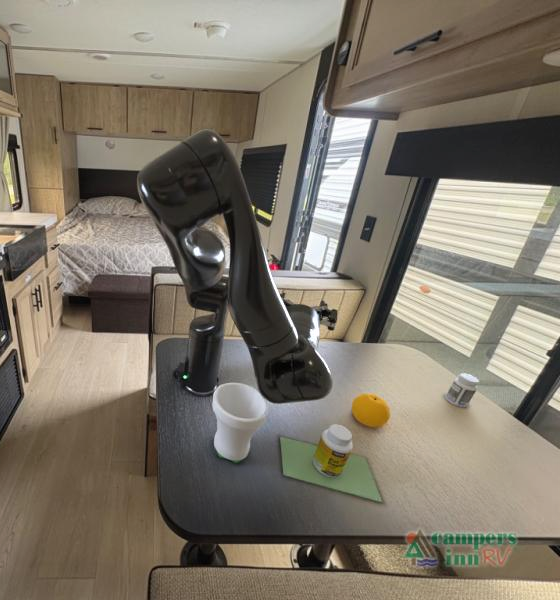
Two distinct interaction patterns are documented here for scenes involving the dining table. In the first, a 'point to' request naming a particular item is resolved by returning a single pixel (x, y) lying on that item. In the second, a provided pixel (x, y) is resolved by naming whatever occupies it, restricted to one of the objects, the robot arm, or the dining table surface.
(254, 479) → the dining table surface
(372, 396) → the orange fruit
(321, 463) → the supplement bottle
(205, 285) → the robot arm
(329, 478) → the cloth
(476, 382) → the pill bottle
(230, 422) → the cup
